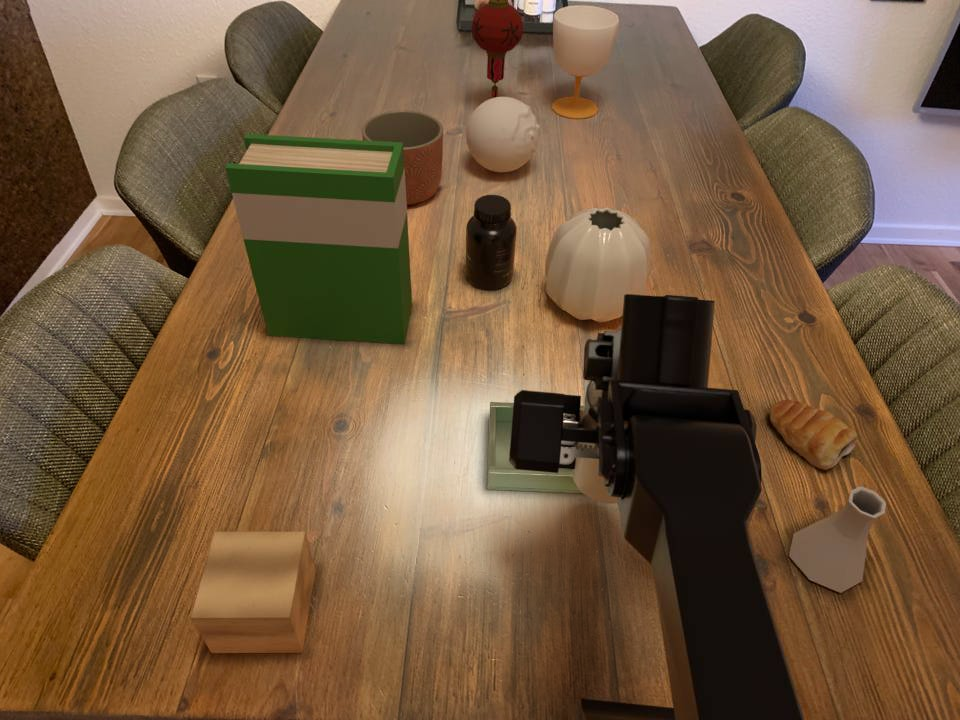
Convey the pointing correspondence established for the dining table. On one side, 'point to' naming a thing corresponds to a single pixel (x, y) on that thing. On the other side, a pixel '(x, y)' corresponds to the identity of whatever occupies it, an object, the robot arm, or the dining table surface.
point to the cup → (582, 51)
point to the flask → (838, 542)
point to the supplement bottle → (490, 243)
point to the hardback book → (326, 236)
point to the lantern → (497, 35)
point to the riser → (255, 593)
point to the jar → (588, 467)
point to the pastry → (813, 432)
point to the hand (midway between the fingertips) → (614, 429)
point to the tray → (502, 469)
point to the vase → (597, 263)
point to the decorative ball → (502, 134)
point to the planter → (412, 148)
